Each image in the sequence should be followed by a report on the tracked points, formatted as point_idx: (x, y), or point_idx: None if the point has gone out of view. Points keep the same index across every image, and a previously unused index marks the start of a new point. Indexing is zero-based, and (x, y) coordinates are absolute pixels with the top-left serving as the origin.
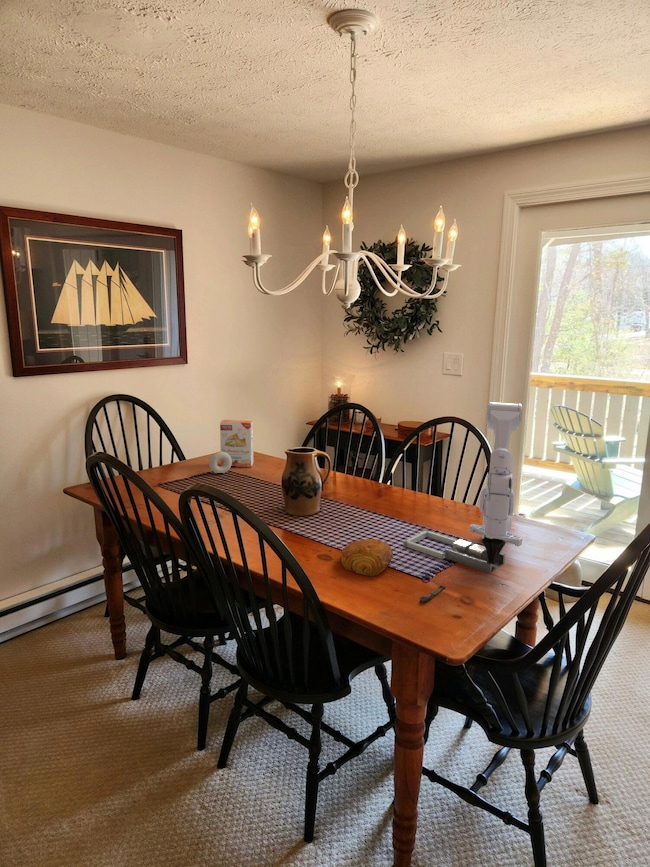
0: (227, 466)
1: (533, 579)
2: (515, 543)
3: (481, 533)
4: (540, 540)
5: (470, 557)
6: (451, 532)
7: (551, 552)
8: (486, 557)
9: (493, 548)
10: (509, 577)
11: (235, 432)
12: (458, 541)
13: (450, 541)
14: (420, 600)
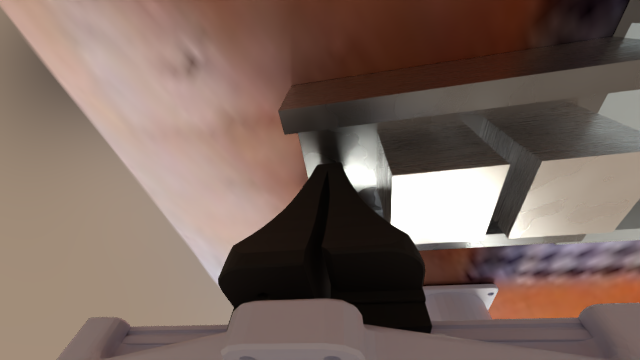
0: None
1: (185, 202)
2: (100, 341)
3: (480, 333)
4: None
5: (443, 92)
6: (610, 286)
7: None
8: (381, 196)
9: (295, 224)
10: (236, 152)
11: None
12: (621, 197)
13: (626, 220)
14: None
